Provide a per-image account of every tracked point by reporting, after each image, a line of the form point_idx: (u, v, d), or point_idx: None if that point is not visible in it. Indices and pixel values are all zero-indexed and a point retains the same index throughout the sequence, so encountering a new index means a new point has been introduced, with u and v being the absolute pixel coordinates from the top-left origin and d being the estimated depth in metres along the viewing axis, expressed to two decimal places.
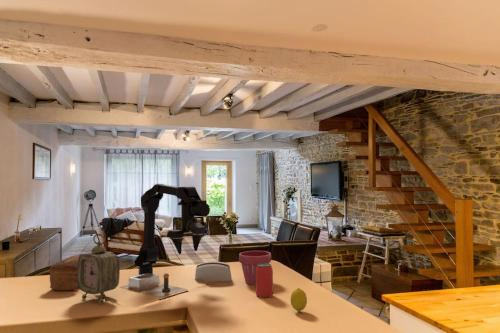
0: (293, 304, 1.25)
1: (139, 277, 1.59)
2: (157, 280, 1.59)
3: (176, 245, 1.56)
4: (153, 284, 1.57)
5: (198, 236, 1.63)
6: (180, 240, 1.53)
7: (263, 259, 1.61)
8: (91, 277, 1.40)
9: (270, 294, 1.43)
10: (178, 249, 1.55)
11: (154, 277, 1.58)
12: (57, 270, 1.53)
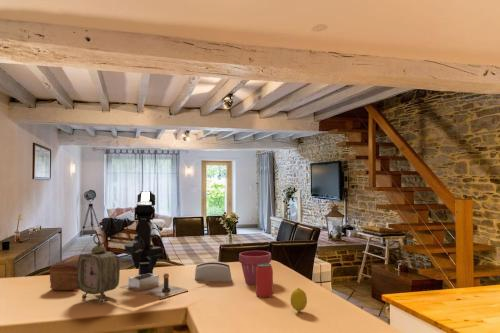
0: (293, 304, 1.25)
1: (139, 277, 1.59)
2: (157, 280, 1.59)
3: None
4: (153, 284, 1.57)
5: None
6: (130, 254, 1.60)
7: (263, 259, 1.61)
8: (91, 277, 1.40)
9: (270, 294, 1.43)
10: None
11: (154, 277, 1.58)
12: (57, 270, 1.53)
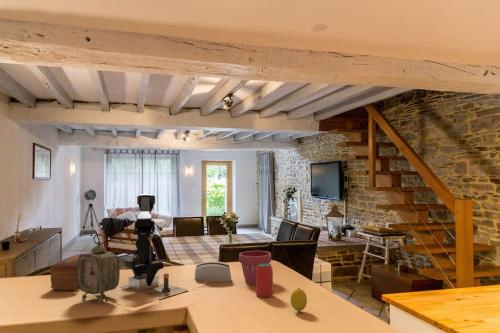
0: (293, 304, 1.25)
1: (139, 277, 1.59)
2: (157, 280, 1.59)
3: None
4: (153, 284, 1.57)
5: None
6: (131, 269, 1.59)
7: (263, 259, 1.61)
8: (91, 277, 1.40)
9: (270, 294, 1.43)
10: None
11: (154, 277, 1.58)
12: (58, 270, 1.53)
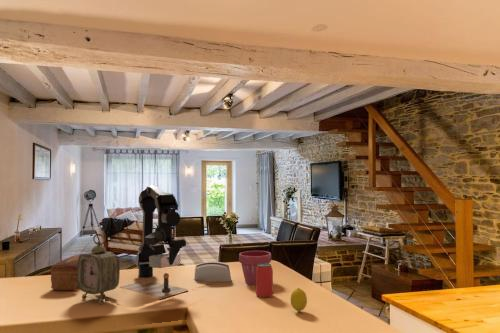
0: (293, 304, 1.25)
1: (160, 256, 1.51)
2: (178, 259, 1.51)
3: None
4: (175, 263, 1.50)
5: None
6: (151, 248, 1.52)
7: (263, 259, 1.61)
8: (91, 277, 1.40)
9: (270, 294, 1.43)
10: None
11: (176, 256, 1.50)
12: (58, 270, 1.53)
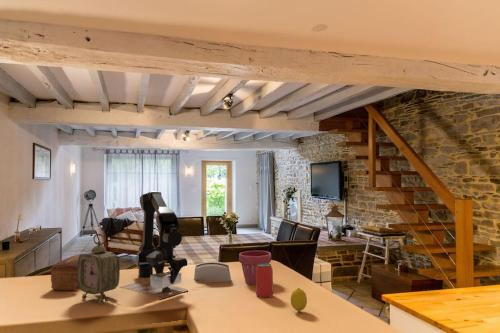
0: (293, 304, 1.25)
1: (161, 275, 1.51)
2: (179, 278, 1.51)
3: None
4: (176, 282, 1.49)
5: None
6: (152, 266, 1.51)
7: (263, 259, 1.61)
8: (91, 277, 1.40)
9: (270, 294, 1.43)
10: None
11: (177, 275, 1.50)
12: (58, 270, 1.53)
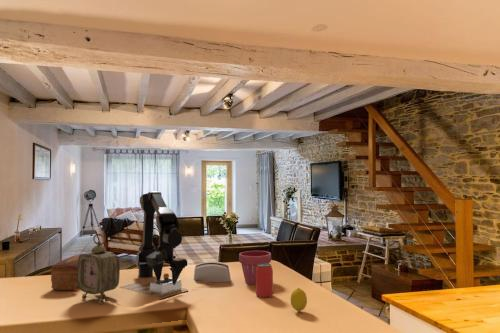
0: (293, 304, 1.25)
1: (161, 282, 1.50)
2: (179, 285, 1.51)
3: None
4: (176, 289, 1.49)
5: None
6: (151, 266, 1.52)
7: (263, 259, 1.61)
8: (91, 277, 1.40)
9: (270, 294, 1.43)
10: None
11: (177, 282, 1.50)
12: (59, 270, 1.53)
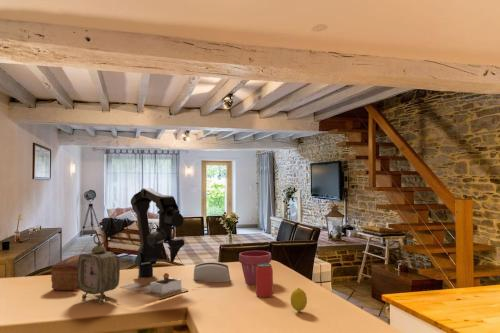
0: (293, 304, 1.25)
1: (161, 282, 1.50)
2: (179, 285, 1.51)
3: None
4: (176, 289, 1.49)
5: None
6: (151, 245, 1.64)
7: (263, 259, 1.61)
8: (91, 277, 1.40)
9: (270, 294, 1.43)
10: None
11: (177, 282, 1.50)
12: (59, 270, 1.53)
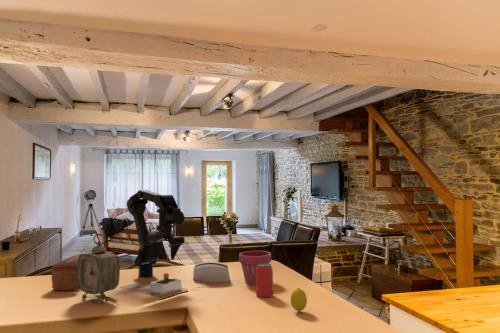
0: (293, 304, 1.25)
1: (161, 282, 1.50)
2: (179, 285, 1.51)
3: None
4: (176, 289, 1.49)
5: None
6: (151, 244, 1.67)
7: (263, 259, 1.61)
8: (91, 277, 1.40)
9: (270, 294, 1.43)
10: None
11: (177, 282, 1.50)
12: (59, 270, 1.53)
